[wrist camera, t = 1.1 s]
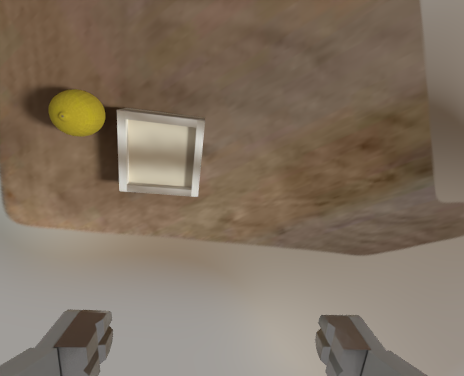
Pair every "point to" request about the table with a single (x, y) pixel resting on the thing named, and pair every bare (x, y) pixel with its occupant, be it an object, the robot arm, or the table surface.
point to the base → (159, 152)
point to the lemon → (76, 112)
